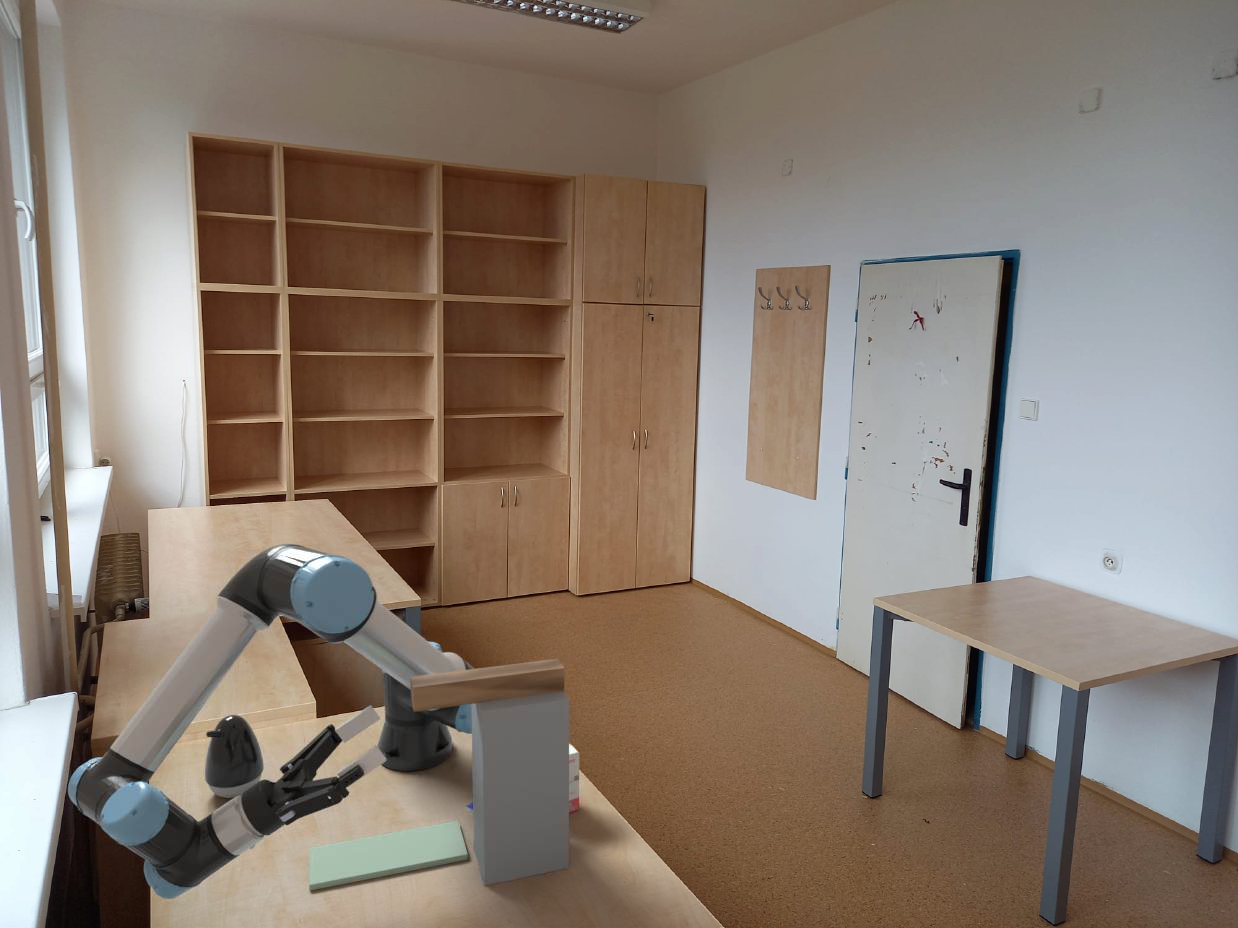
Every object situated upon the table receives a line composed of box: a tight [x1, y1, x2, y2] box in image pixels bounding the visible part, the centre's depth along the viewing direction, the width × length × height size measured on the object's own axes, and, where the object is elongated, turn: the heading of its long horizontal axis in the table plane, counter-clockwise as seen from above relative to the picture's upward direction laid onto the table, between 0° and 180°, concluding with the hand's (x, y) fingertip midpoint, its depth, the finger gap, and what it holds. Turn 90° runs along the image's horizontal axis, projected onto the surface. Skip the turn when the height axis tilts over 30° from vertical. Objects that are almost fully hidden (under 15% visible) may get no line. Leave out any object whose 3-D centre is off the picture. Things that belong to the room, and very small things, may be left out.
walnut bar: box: [410, 658, 565, 712], centre depth 136 cm, size 4×24×4 cm, turn 109°
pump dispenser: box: [204, 714, 265, 799], centre depth 161 cm, size 10×10×15 cm
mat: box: [308, 820, 469, 891], centre depth 143 cm, size 10×25×1 cm, turn 109°
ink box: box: [569, 742, 580, 813], centre depth 157 cm, size 9×5×12 cm, turn 118°
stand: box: [471, 690, 570, 886], centre depth 141 cm, size 10×14×30 cm
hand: (378, 731), depth 132 cm, fingers open, 13 cm apart
